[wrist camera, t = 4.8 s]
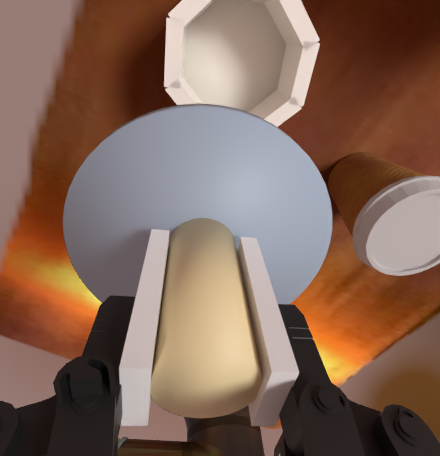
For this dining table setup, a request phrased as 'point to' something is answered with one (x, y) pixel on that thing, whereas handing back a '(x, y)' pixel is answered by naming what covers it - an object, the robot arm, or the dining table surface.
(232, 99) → the bowl
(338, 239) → the dining table surface
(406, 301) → the dining table surface
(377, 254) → the disposable coffee cup
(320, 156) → the dining table surface
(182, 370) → the lid
